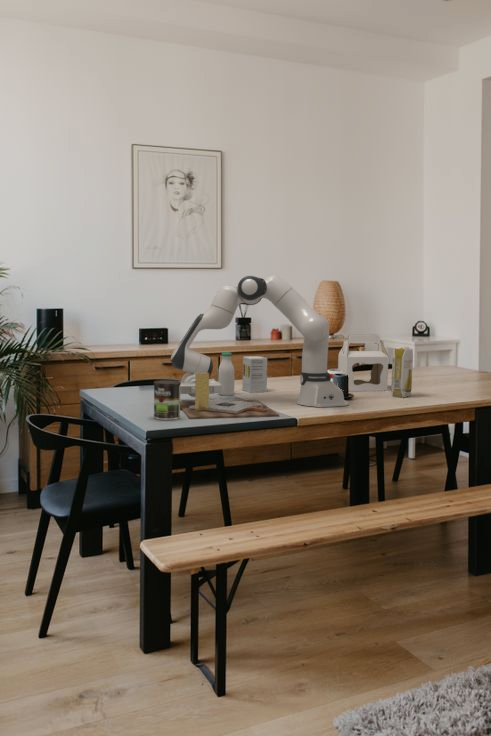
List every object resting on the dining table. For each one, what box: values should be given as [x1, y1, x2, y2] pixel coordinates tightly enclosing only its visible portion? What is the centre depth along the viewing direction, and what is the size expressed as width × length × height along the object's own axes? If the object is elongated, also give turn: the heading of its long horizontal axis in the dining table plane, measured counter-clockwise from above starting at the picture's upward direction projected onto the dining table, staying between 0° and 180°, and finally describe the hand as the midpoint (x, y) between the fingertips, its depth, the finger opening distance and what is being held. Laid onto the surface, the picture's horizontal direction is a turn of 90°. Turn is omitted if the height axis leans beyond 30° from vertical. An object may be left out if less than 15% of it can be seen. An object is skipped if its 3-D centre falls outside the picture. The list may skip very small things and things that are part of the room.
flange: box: [189, 372, 266, 414], centre depth 284 cm, size 25×29×15 cm
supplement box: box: [242, 355, 268, 394], centre depth 339 cm, size 10×9×17 cm
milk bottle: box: [217, 351, 235, 397], centre depth 326 cm, size 8×8×20 cm
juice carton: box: [390, 345, 414, 398], centre depth 329 cm, size 9×8×24 cm
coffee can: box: [153, 379, 181, 421], centre depth 268 cm, size 10×10×14 cm
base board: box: [180, 399, 280, 420], centre depth 288 cm, size 36×36×3 cm
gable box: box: [337, 333, 389, 393], centre depth 350 cm, size 22×13×28 cm, turn 102°
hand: (199, 391), depth 281 cm, fingers closed
